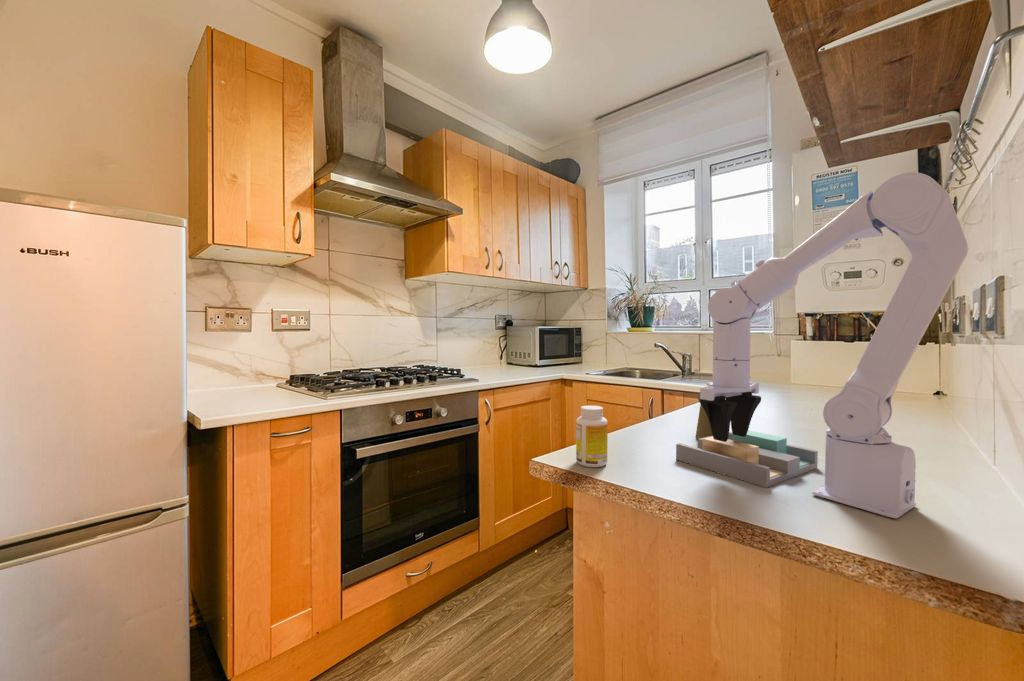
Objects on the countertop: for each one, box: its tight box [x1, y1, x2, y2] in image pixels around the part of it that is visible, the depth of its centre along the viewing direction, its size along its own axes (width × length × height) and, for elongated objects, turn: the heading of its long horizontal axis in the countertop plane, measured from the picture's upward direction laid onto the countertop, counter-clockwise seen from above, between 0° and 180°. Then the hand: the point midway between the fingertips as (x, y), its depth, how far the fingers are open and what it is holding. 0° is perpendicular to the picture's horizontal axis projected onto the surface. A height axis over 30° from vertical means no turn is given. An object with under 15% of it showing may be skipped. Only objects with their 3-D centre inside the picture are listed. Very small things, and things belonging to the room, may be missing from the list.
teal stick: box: [732, 429, 788, 454], centre depth 78 cm, size 8×4×4 cm, turn 32°
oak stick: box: [702, 436, 759, 464], centre depth 73 cm, size 8×4×4 cm, turn 32°
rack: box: [675, 431, 819, 489], centre depth 75 cm, size 16×17×3 cm
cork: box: [694, 391, 713, 441], centre depth 92 cm, size 6×6×11 cm
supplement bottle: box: [575, 404, 608, 468], centre depth 76 cm, size 6×6×10 cm
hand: (730, 437), depth 73 cm, fingers open, 5 cm apart
